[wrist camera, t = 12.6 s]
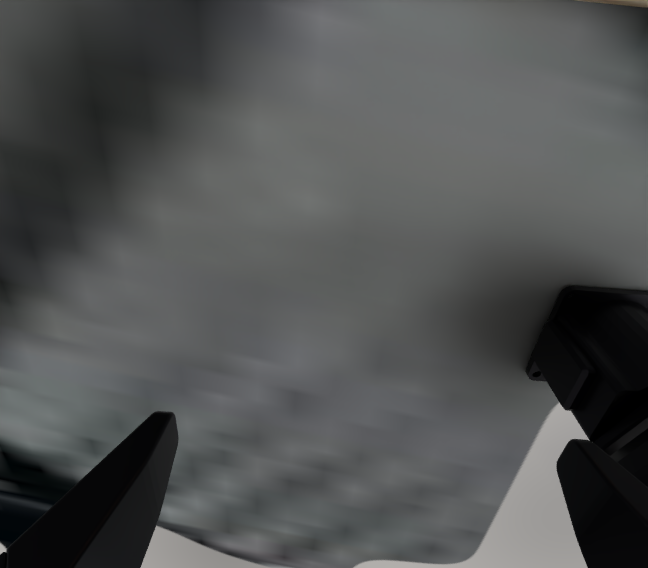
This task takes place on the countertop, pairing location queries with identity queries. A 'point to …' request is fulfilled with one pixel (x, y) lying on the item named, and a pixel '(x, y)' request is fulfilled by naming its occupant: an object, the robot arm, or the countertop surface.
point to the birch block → (622, 2)
